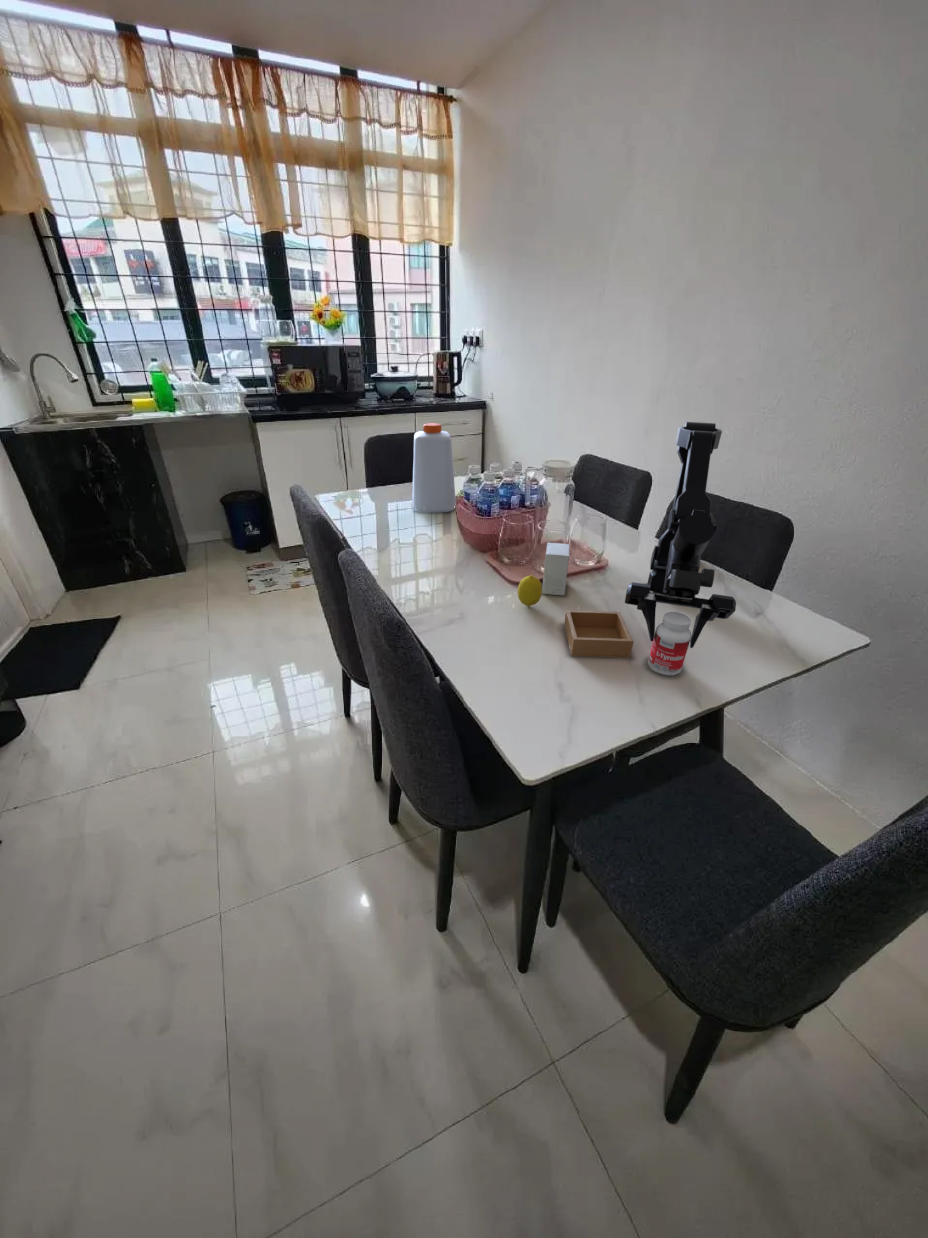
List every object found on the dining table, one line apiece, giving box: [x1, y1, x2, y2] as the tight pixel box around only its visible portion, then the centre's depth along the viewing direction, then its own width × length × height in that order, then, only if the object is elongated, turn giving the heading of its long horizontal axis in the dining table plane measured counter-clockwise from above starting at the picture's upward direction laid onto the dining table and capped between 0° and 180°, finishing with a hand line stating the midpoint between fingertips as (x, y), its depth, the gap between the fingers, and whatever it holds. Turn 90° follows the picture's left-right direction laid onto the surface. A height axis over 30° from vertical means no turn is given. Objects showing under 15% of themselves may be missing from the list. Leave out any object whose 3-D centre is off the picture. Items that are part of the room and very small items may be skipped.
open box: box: [563, 609, 635, 659], centre depth 104 cm, size 12×12×4 cm
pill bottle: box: [647, 611, 692, 676], centre depth 94 cm, size 6×6×11 cm
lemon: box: [517, 574, 543, 608], centre depth 115 cm, size 6×6×8 cm
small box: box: [542, 542, 571, 596], centre depth 123 cm, size 8×6×10 cm
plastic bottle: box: [411, 422, 456, 514], centre depth 173 cm, size 15×15×28 cm
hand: (671, 644), depth 92 cm, fingers open, 7 cm apart
